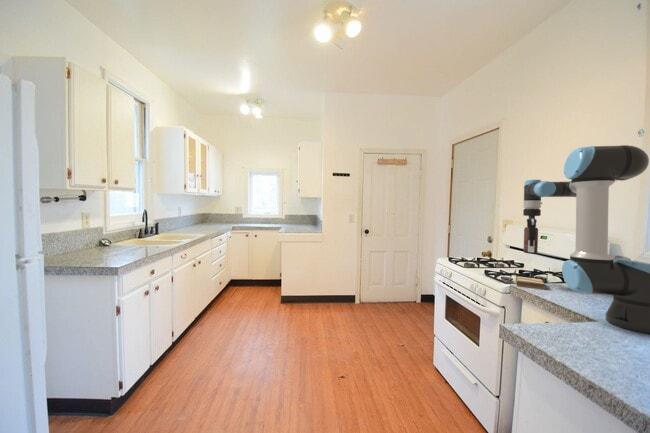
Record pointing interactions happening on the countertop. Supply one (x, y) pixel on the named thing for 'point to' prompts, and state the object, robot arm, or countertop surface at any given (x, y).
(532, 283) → the stand
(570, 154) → the robot arm
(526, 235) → the can
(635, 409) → the countertop surface
